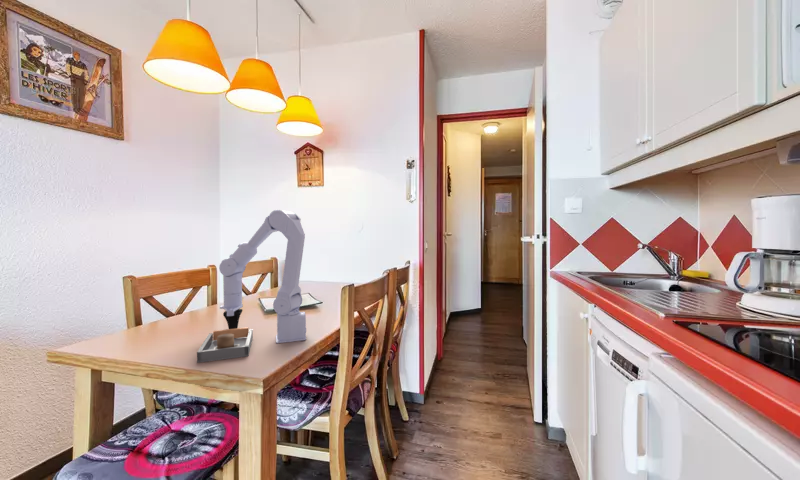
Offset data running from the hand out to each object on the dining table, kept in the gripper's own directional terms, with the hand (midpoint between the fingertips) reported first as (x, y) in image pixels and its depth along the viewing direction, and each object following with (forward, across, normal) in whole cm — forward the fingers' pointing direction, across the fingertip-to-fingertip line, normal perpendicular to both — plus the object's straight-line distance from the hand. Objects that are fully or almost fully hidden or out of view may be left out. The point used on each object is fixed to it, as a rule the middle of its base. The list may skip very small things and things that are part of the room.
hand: (233, 331), depth 110 cm
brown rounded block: (+1, +17, 0) cm, 17 cm away
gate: (+1, +5, 0) cm, 5 cm away
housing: (+2, +13, 0) cm, 13 cm away
